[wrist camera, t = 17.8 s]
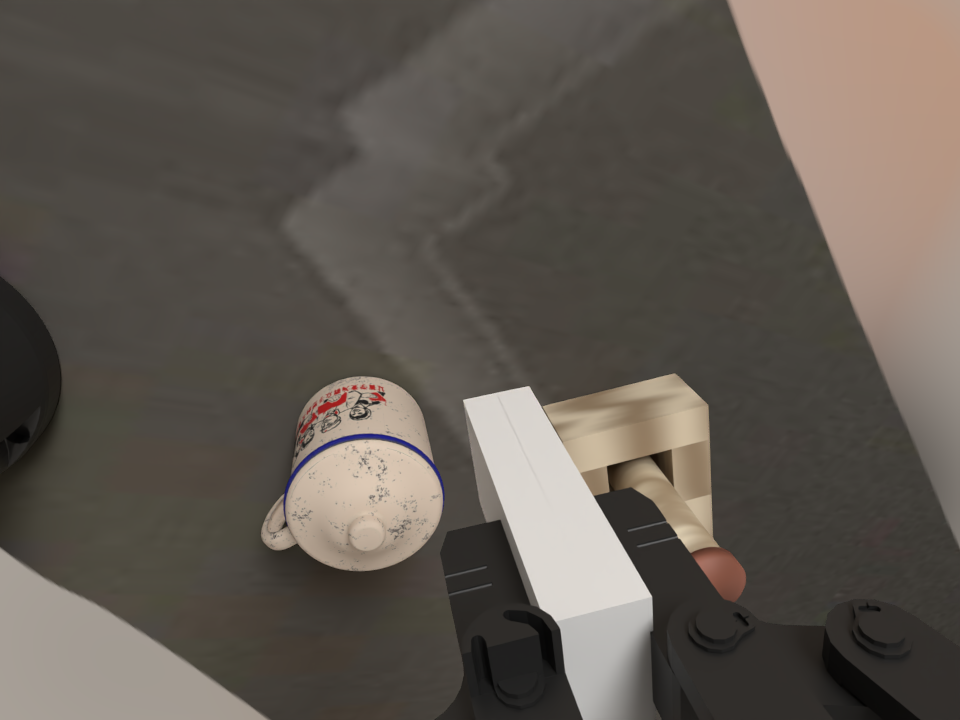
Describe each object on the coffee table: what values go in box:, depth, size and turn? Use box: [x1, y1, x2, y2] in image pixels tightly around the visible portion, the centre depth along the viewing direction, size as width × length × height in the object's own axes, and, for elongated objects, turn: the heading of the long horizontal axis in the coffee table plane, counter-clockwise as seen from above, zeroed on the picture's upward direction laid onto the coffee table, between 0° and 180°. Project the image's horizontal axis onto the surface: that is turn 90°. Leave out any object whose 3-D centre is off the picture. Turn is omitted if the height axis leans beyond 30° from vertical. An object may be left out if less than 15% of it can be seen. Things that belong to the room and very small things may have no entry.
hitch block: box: [542, 373, 713, 538], centre depth 50 cm, size 10×22×7 cm, turn 10°
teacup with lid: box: [261, 376, 444, 571], centre depth 42 cm, size 12×9×12 cm
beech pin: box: [607, 455, 746, 602], centre depth 44 cm, size 4×4×15 cm
